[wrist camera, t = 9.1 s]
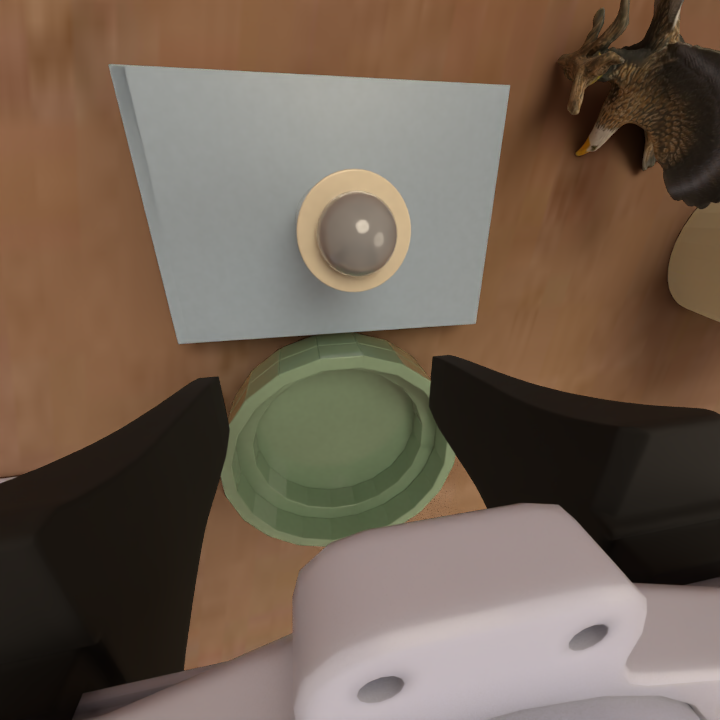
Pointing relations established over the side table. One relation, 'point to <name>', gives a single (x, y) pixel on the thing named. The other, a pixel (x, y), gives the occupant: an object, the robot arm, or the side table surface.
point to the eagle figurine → (656, 98)
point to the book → (293, 178)
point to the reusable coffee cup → (698, 263)
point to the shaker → (353, 230)
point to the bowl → (333, 440)
